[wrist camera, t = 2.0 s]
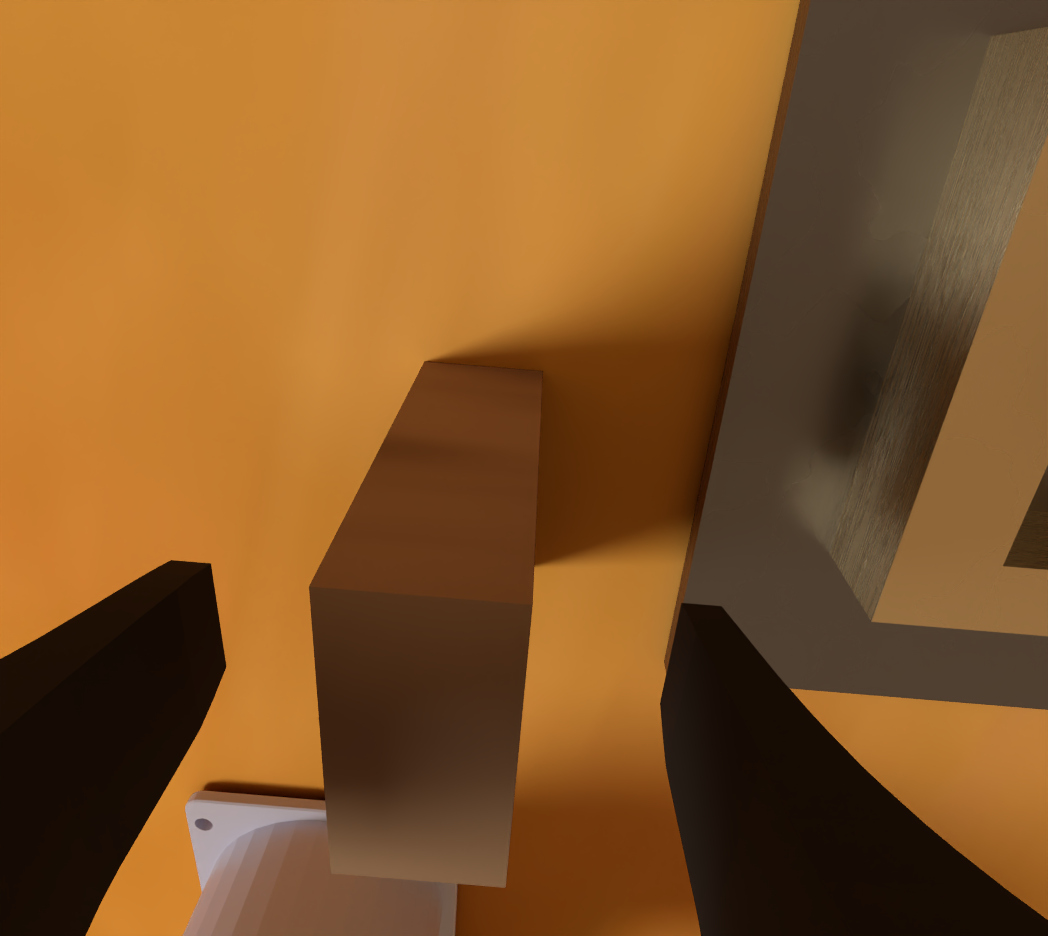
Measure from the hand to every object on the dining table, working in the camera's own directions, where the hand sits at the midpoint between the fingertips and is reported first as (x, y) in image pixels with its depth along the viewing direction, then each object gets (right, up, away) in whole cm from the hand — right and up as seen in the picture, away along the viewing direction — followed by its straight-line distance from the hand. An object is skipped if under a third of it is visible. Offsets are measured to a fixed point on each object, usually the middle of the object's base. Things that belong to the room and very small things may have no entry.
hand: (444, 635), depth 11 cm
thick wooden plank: (0, +2, +5) cm, 6 cm away
